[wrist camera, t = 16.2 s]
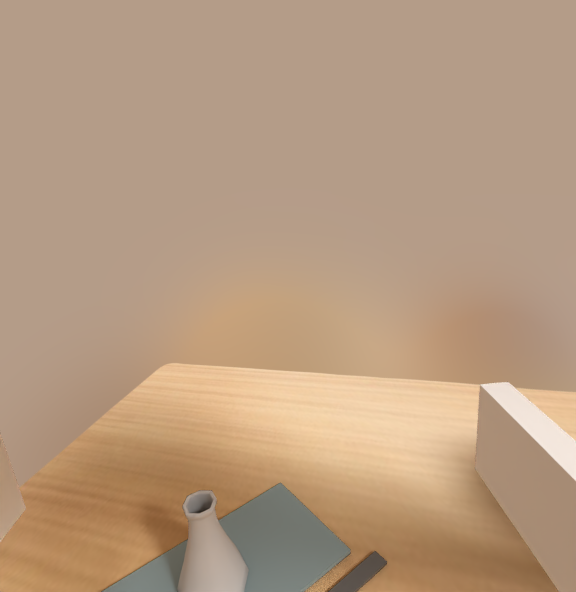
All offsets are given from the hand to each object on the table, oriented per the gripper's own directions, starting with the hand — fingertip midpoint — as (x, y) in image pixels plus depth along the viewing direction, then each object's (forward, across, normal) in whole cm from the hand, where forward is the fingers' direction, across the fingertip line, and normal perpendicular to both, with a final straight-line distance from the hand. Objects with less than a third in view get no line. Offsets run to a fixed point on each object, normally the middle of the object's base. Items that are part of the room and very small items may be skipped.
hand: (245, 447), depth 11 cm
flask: (+21, -9, -32) cm, 39 cm away
